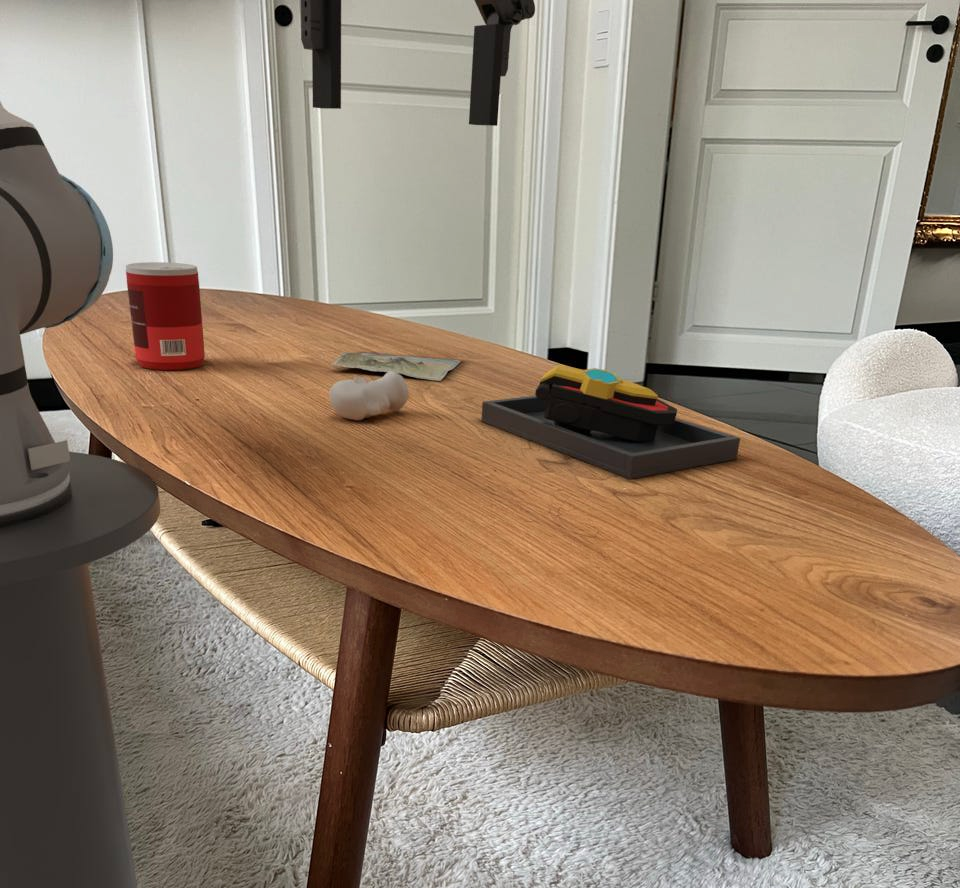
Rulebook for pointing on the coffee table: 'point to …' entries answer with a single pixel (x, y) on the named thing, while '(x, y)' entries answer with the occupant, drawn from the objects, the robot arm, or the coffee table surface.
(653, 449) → the dark gray tray
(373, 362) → the topographic map
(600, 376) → the gadget
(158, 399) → the coffee table surface
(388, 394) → the smooth white sculpture
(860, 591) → the coffee table surface
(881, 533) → the coffee table surface
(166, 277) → the canned food
